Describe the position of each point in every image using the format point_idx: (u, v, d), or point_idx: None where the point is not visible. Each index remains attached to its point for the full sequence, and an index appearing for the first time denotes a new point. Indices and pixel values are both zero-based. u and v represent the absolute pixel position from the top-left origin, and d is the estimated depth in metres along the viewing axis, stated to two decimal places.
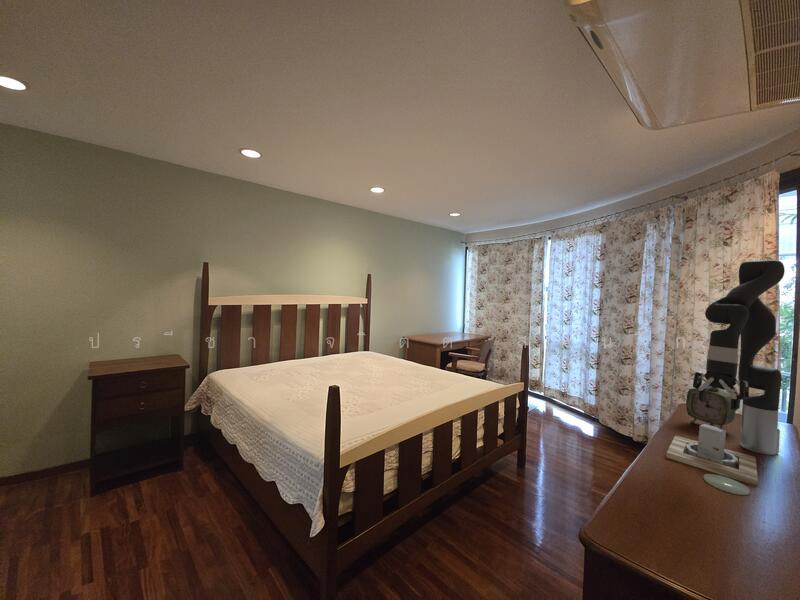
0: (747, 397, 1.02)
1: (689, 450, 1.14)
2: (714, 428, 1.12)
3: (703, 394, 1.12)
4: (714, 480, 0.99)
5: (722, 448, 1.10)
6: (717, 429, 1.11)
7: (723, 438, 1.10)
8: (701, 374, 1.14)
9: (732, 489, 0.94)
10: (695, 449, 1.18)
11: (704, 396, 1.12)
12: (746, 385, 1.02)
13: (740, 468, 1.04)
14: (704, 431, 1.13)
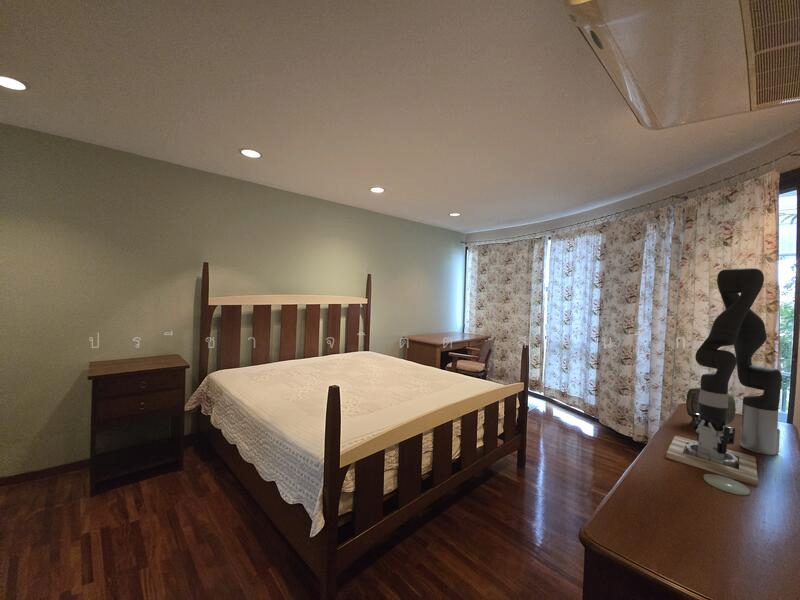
0: (731, 442, 1.06)
1: (689, 450, 1.14)
2: None
3: None
4: (714, 480, 0.99)
5: None
6: None
7: None
8: (697, 415, 1.18)
9: (732, 489, 0.94)
10: (695, 449, 1.18)
11: None
12: (730, 431, 1.06)
13: (740, 468, 1.04)
14: (704, 431, 1.13)
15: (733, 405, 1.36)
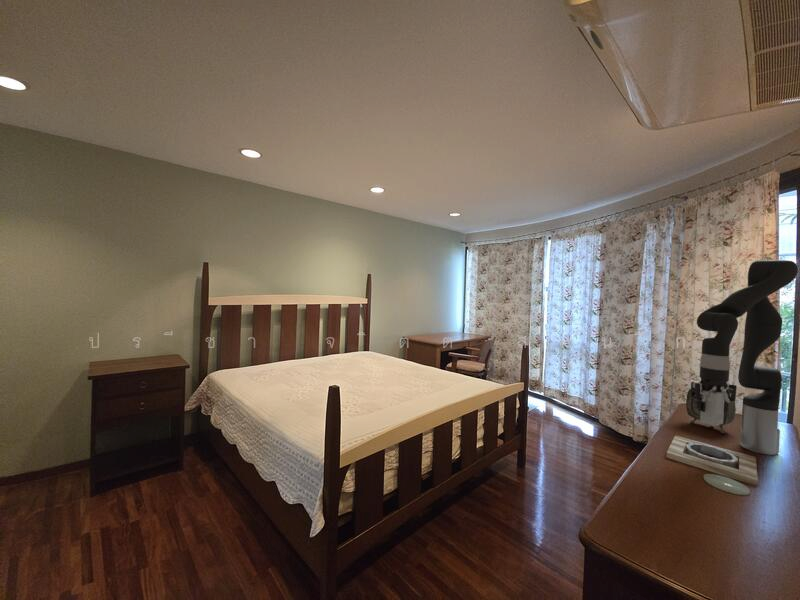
0: (695, 397, 1.13)
1: (689, 450, 1.14)
2: None
3: None
4: (714, 480, 0.99)
5: (709, 409, 1.11)
6: None
7: (710, 399, 1.11)
8: None
9: (732, 489, 0.94)
10: (695, 449, 1.18)
11: None
12: (693, 385, 1.13)
13: (740, 468, 1.04)
14: None
15: (733, 405, 1.36)
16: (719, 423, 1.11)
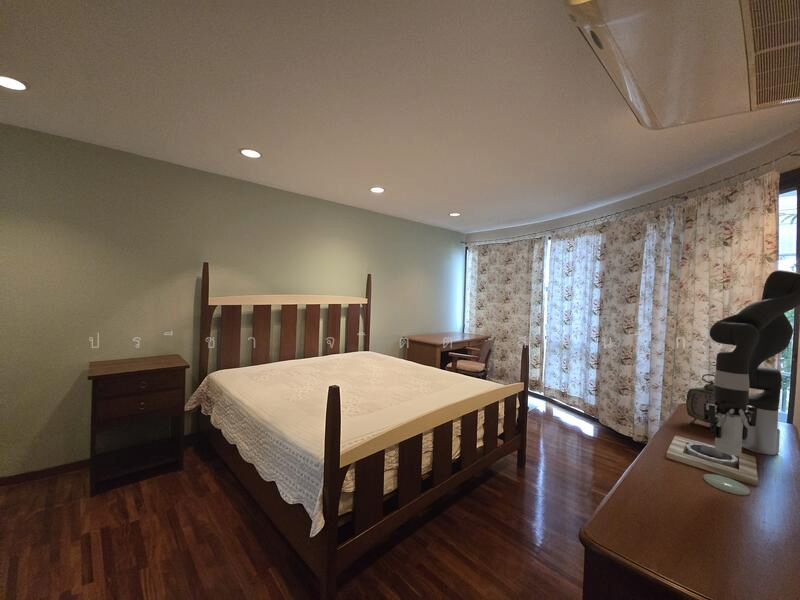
0: (709, 421, 0.97)
1: (689, 450, 1.14)
2: None
3: None
4: (714, 480, 0.99)
5: (726, 436, 0.95)
6: None
7: (727, 424, 0.95)
8: None
9: (732, 489, 0.94)
10: (695, 449, 1.18)
11: None
12: (706, 407, 0.98)
13: (740, 468, 1.04)
14: None
15: None
16: (737, 452, 0.95)
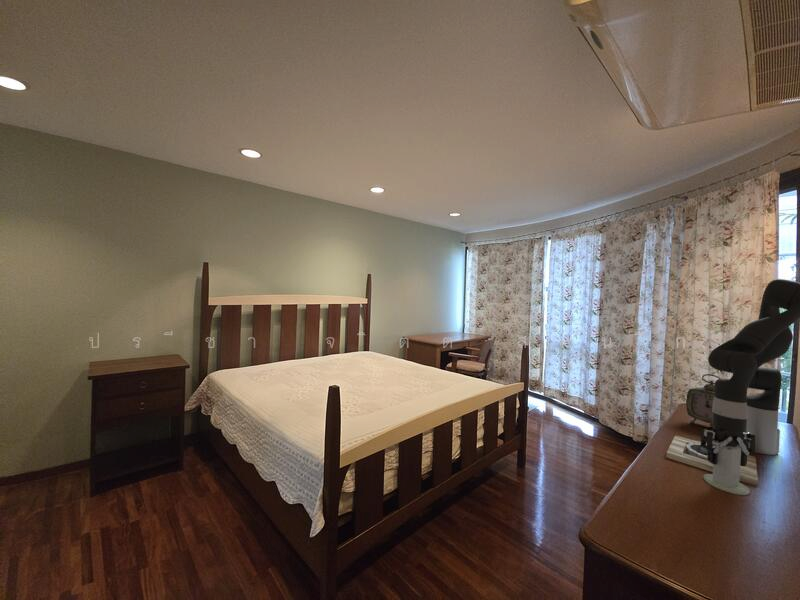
0: (705, 447, 0.97)
1: (689, 450, 1.14)
2: None
3: None
4: None
5: (723, 467, 0.96)
6: None
7: (724, 456, 0.96)
8: None
9: (732, 489, 0.94)
10: (695, 449, 1.18)
11: None
12: (704, 433, 0.98)
13: (740, 468, 1.04)
14: None
15: None
16: (735, 484, 0.96)
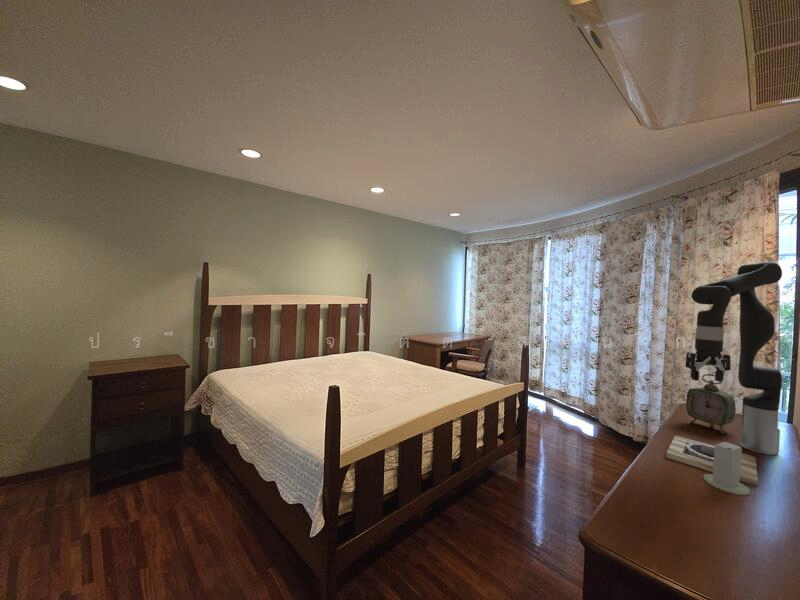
0: (689, 366, 1.17)
1: (689, 450, 1.14)
2: (725, 445, 0.97)
3: (716, 373, 1.18)
4: None
5: (723, 468, 0.96)
6: (723, 445, 0.97)
7: (724, 456, 0.96)
8: None
9: (732, 489, 0.94)
10: (695, 449, 1.18)
11: (718, 376, 1.17)
12: (688, 355, 1.18)
13: (740, 468, 1.04)
14: None
15: (733, 405, 1.36)
16: (735, 484, 0.96)
